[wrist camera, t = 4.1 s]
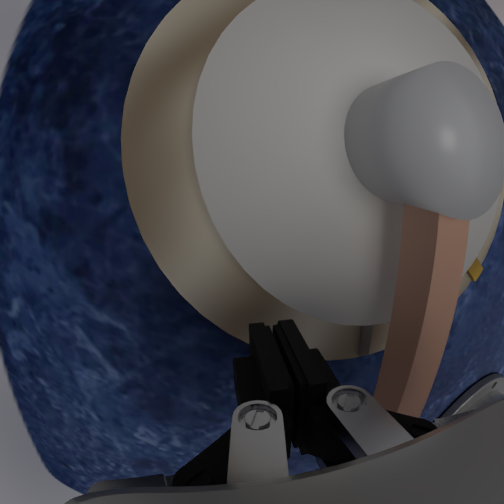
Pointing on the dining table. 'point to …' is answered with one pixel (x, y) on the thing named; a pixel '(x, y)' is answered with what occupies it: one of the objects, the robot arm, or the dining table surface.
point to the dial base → (189, 193)
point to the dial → (352, 169)
